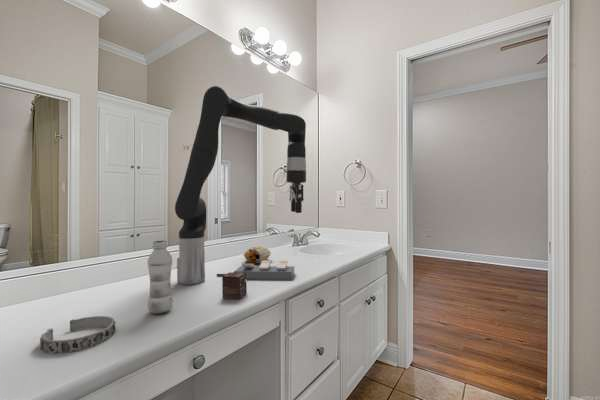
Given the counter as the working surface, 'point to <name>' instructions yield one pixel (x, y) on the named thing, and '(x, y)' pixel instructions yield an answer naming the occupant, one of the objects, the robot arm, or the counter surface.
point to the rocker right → (281, 265)
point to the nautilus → (257, 254)
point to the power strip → (266, 273)
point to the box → (234, 285)
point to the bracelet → (83, 342)
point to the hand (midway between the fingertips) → (296, 212)
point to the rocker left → (248, 265)
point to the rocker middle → (265, 265)
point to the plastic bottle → (160, 278)
